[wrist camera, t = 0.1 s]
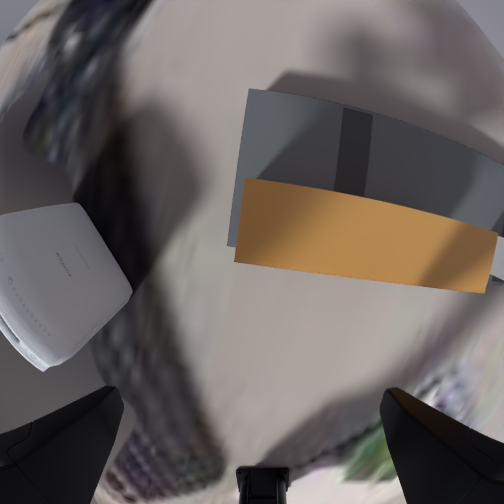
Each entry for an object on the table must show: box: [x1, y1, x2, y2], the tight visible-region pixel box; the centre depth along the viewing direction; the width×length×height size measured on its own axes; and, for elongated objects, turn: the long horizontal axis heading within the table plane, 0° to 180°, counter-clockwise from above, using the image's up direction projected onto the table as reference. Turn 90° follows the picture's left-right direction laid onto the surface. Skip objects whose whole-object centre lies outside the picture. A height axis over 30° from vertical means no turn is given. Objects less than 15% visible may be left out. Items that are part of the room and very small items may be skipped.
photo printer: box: [0, 203, 133, 372], centre depth 16 cm, size 10×4×12 cm, turn 32°
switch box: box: [227, 89, 504, 285], centre depth 19 cm, size 10×30×4 cm, turn 82°
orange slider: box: [234, 178, 498, 293], centre depth 13 cm, size 3×12×7 cm, turn 82°
